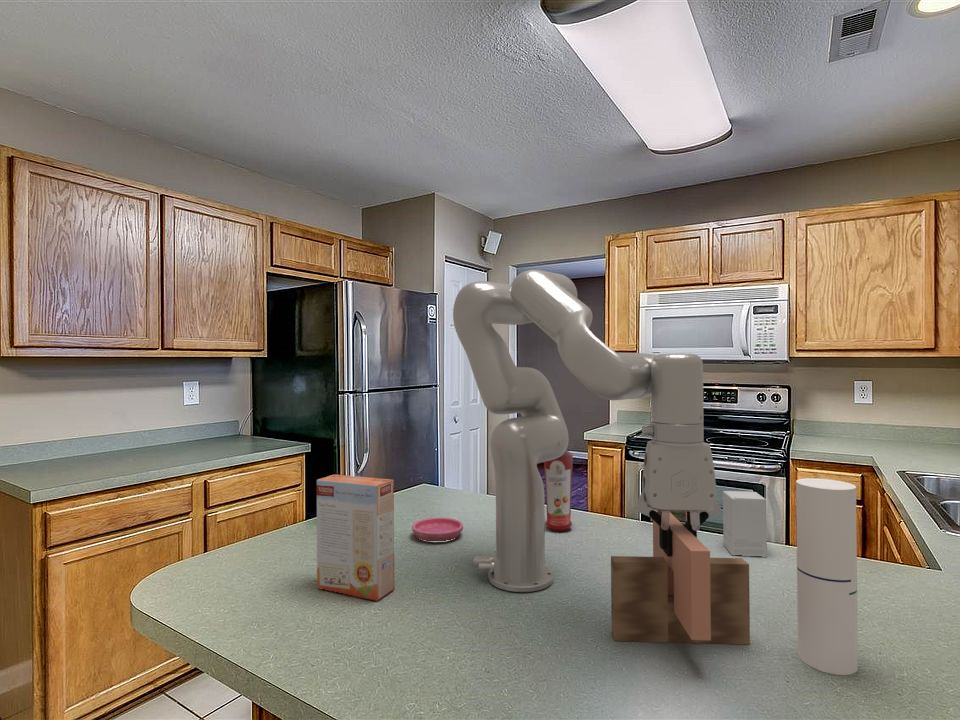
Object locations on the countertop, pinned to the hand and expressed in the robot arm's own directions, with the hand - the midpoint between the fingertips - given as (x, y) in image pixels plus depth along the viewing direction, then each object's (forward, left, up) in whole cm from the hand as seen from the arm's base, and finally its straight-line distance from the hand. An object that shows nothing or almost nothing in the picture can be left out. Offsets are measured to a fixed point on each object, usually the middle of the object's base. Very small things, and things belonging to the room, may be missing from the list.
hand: (678, 552), depth 82 cm
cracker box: (-55, +15, -13) cm, 58 cm away
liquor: (-14, +53, -13) cm, 56 cm away
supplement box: (+26, +39, -13) cm, 49 cm away
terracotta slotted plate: (0, 0, -8) cm, 8 cm away
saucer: (-44, +46, -14) cm, 65 cm away
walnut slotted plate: (0, 0, -13) cm, 13 cm away
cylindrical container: (+19, -5, -13) cm, 24 cm away
